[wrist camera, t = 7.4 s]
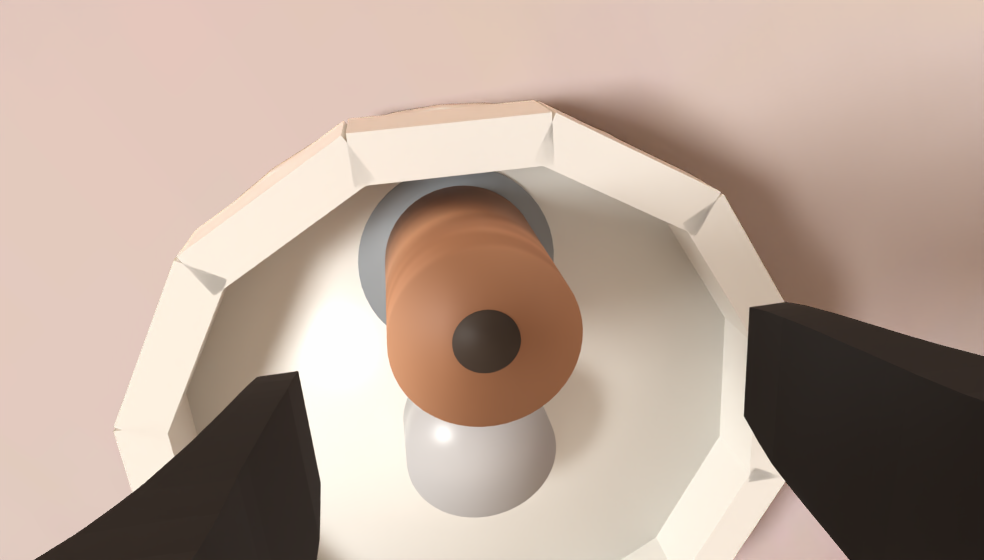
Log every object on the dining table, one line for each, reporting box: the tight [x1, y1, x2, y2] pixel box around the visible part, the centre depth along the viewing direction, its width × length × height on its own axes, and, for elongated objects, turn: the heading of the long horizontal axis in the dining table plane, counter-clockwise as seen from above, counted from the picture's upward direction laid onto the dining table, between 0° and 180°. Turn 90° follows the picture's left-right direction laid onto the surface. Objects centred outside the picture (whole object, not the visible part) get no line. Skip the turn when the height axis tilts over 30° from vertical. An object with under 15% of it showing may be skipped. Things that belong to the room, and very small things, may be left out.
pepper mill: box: [385, 186, 583, 427], centre depth 17 cm, size 4×4×5 cm
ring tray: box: [113, 100, 785, 560], centre depth 21 cm, size 18×18×3 cm
